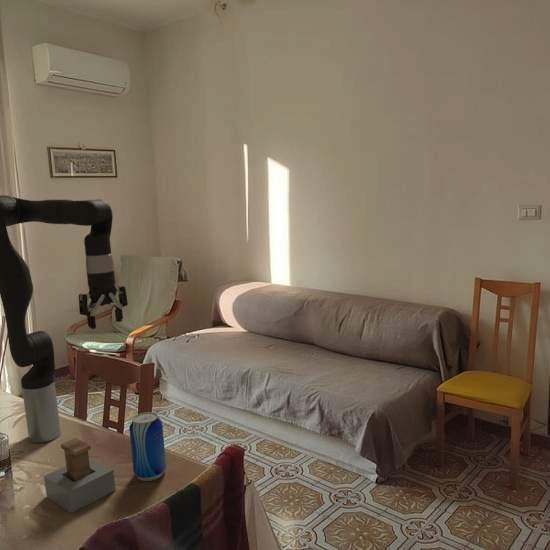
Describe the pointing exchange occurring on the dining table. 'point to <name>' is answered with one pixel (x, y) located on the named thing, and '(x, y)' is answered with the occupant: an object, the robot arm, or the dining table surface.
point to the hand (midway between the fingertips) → (106, 324)
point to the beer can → (147, 446)
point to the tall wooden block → (76, 459)
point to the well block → (79, 486)
